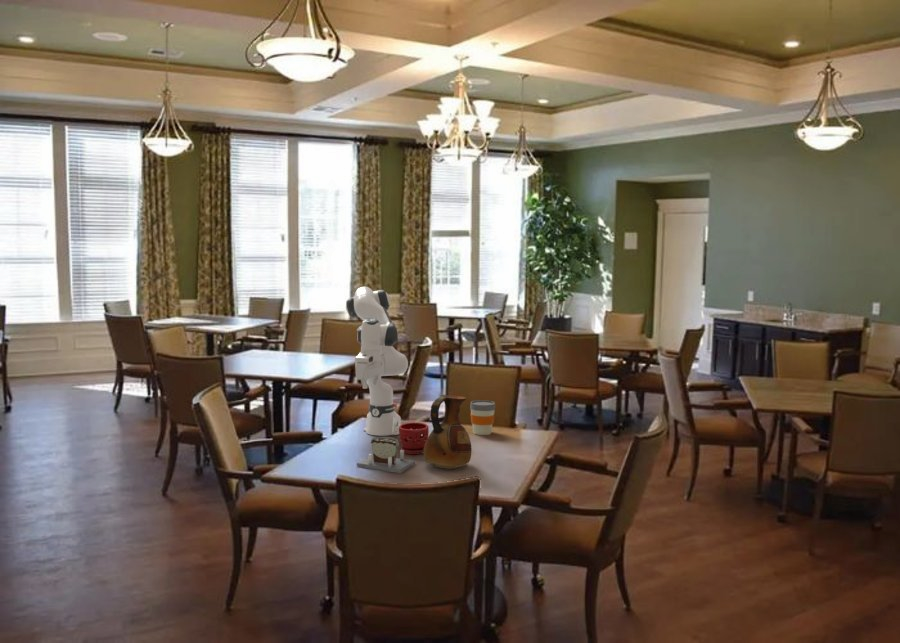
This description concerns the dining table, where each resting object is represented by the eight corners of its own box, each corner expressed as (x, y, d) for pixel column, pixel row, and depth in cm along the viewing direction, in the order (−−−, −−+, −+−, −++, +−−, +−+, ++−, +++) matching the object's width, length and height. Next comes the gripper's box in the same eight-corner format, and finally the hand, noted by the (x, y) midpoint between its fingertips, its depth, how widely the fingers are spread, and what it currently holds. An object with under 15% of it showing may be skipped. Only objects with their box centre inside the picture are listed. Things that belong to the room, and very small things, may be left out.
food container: (403, 461, 324) (403, 438, 323) (397, 465, 318) (397, 441, 317) (376, 458, 328) (376, 435, 327) (370, 462, 323) (370, 438, 322)
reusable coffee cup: (466, 434, 378) (467, 404, 377) (473, 428, 390) (473, 399, 389) (491, 436, 375) (492, 406, 373) (497, 430, 387) (498, 401, 385)
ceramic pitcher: (480, 466, 325) (482, 396, 322) (446, 476, 311) (447, 402, 308) (448, 456, 339) (449, 389, 336) (413, 465, 325) (415, 394, 322)
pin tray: (373, 458, 334) (373, 445, 333) (415, 464, 326) (415, 451, 326) (357, 466, 321) (357, 453, 321) (400, 473, 313) (400, 459, 313)
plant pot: (409, 446, 354) (409, 420, 353) (433, 450, 348) (434, 424, 346) (392, 452, 343) (393, 426, 342) (417, 457, 336) (418, 430, 335)
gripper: (375, 352, 353) (375, 381, 355) (353, 358, 334) (352, 390, 336) (387, 353, 351) (387, 383, 352) (365, 359, 332) (365, 391, 334)
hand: (370, 386), depth 344 cm, fingers open, 8 cm apart
